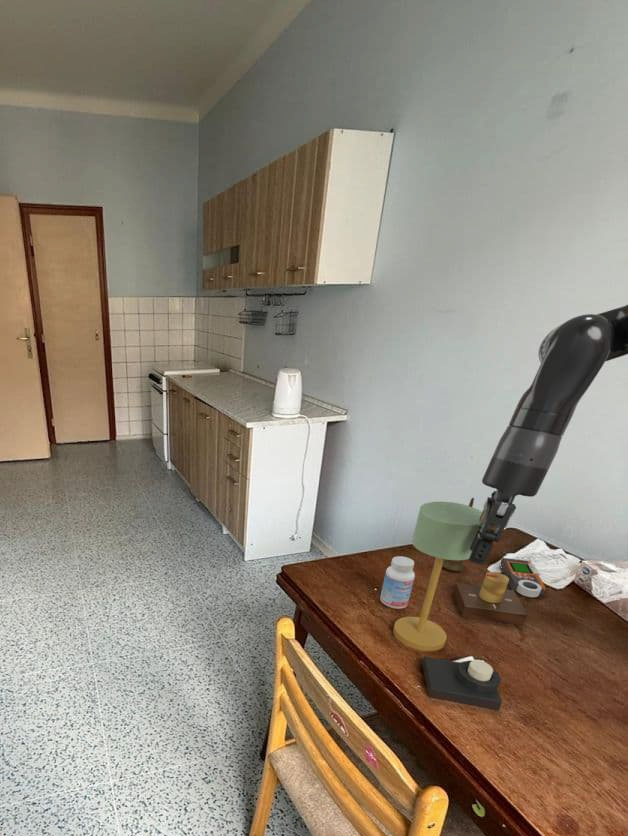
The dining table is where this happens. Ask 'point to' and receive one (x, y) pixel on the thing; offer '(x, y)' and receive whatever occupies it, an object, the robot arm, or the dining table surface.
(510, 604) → the dimmer
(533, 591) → the electronic device
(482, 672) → the lamp switch
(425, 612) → the table lamp
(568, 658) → the dining table surface
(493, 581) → the dimmer knob
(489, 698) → the switch base
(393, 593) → the pill bottle
